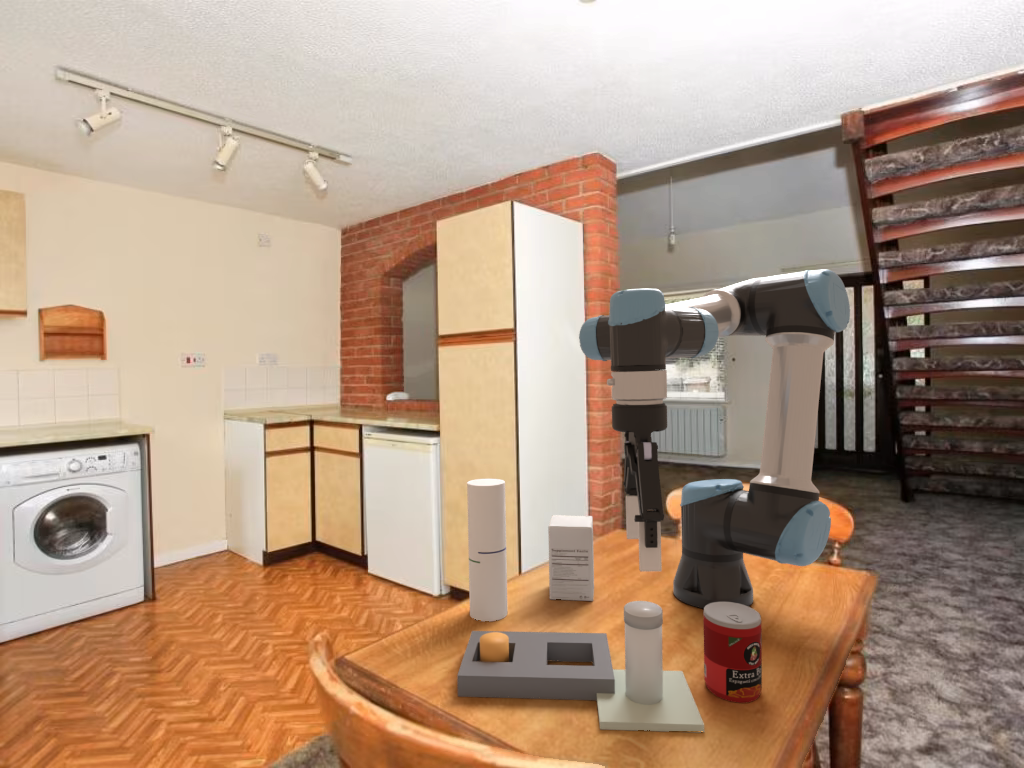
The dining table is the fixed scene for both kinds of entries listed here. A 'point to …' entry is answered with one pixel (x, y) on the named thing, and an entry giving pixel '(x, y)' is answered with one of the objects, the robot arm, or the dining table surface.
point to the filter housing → (539, 667)
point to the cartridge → (643, 652)
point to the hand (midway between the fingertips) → (642, 553)
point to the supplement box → (571, 558)
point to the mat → (650, 707)
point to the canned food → (732, 651)
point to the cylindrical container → (487, 549)
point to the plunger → (494, 647)
